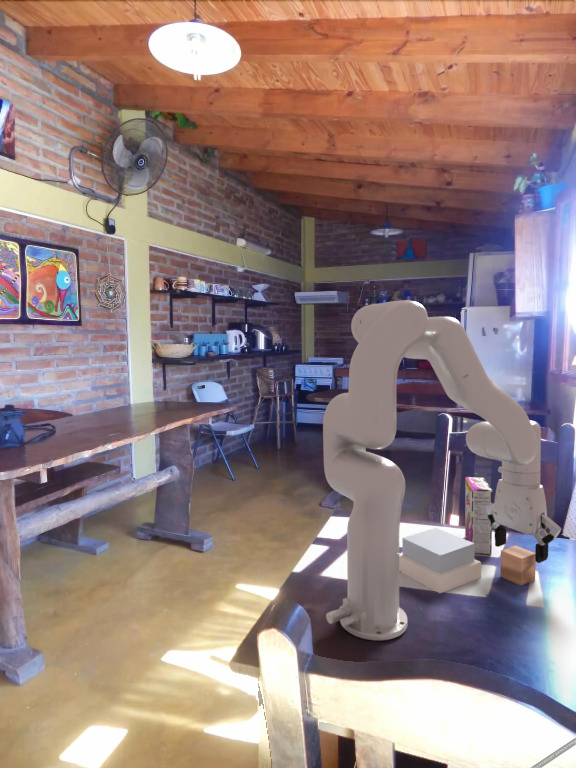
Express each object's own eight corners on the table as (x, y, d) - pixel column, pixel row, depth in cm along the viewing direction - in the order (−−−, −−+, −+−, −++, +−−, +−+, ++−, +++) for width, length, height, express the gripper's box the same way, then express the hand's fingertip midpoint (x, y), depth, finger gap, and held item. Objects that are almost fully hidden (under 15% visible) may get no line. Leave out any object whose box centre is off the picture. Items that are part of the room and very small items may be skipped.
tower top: (440, 573, 103) (440, 555, 102) (402, 554, 112) (402, 537, 112) (474, 560, 108) (474, 543, 108) (435, 543, 118) (435, 527, 118)
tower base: (439, 595, 102) (439, 577, 101) (396, 571, 113) (396, 554, 112) (480, 579, 108) (481, 561, 108) (435, 557, 119) (435, 541, 119)
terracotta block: (521, 585, 104) (521, 558, 104) (500, 576, 109) (500, 550, 108) (535, 579, 107) (535, 553, 106) (514, 570, 111) (515, 545, 111)
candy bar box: (463, 536, 131) (464, 476, 130) (483, 537, 130) (484, 477, 129) (470, 554, 120) (471, 488, 119) (492, 555, 119) (493, 489, 118)
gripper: (475, 471, 111) (475, 543, 113) (549, 490, 97) (548, 573, 98) (496, 465, 115) (496, 535, 117) (570, 483, 100) (569, 563, 102)
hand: (520, 552), depth 108 cm, fingers open, 9 cm apart
